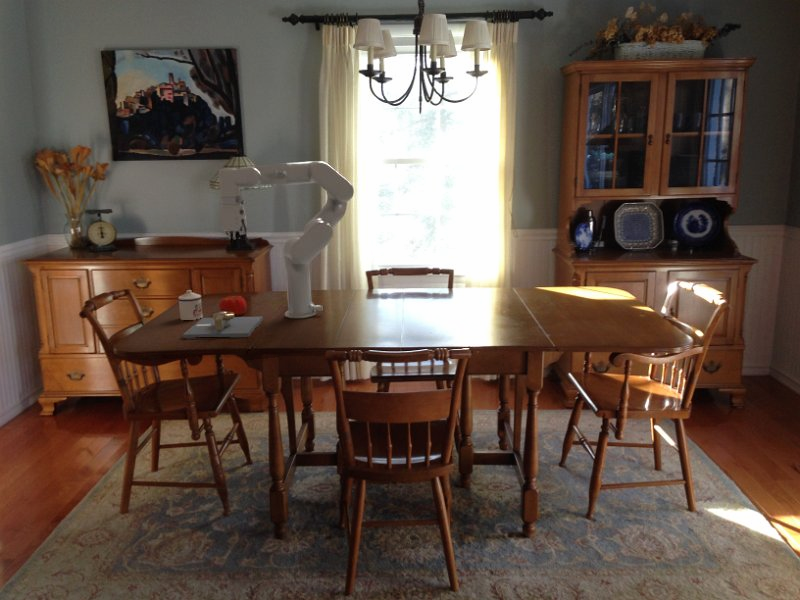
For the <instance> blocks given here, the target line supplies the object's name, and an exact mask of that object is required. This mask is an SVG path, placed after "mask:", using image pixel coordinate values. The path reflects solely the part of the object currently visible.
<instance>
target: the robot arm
mask: <svg viewBox="0 0 800 600" xmlns="http://www.w3.org/2000/svg"><path fill="white" fill-rule="evenodd" d="M218 183H219V192H220V193H219V194H220V203H221V205H220V209H219V210H220V213H219V218H220V219H219V222H220V223H219V224H220V228H221V230H222V233H223V234H225V235H226V236H227V237H228V240H229V244H230V250H233V251H235V250H239V249H240V248H241V247H240V239H241V236H243V235H246V231H247V230H248V220H247V214H246V210H245V206H244V204H242V202H243V198H242V193H241V187H245V188H254V187H256V186H261V185H262V186H263V185H278V186H295V185H306V184H317V185H319V186H320V187H321V188H322V189H324V190H325V191H326V194H327V198H326V199H327V200H326V203H325V205H324V206H323V207H322V208H321V209H320V211H318V212H317V214H316V215H314V216H313V217H312V219H310V220H309V221H307V223H306V224H305V226H304V228H303V234H302V235H301V236H300V237H296V236H295V237H291V238H289V239H287V240H286V241H285V243H284V245H283V247H282V249H283V250H282V251H283V252H282V253H283V260H284V267H285V276H286V277H285V278H286V279H285V281H286V292H287V293H286V297H287V308H288V310H287V311H285V312H284V316H285V317H286V318H289V319H307V318H310V317H311V318H312V317H314V316H315V315H316V314H317V311H318V312H319V311H320V312H321V311H323V310H324V309H323V305H321V304H318V305H317V304H316V305H315V304H314V301H313V302H312V289H311V288H312V287H311V272H310V271H311V270H310V269H311V268H310V262H312V260H314V259H315V258H316V257H317V256H318V255H319V254H320V253H321V252H322V250H324V249H325V248H326V247H327V246H328V245H329V243H330V242H331V241H332V239H333V237H334V228H335V227H336V226H337V225H338V223H339V222H341V220H342V219H343V217H344V215H345V214H346V210H347V206H348V201H351V199H352V198H353V196H354V193H355V190H354V186H353V185H352V183H351V182H350V181H349V180H348V179H346V178H345V177H344V176H343V175H341V174H340V172H338V171H337V170H336V169H334V168H333V167H332V166H331V165H329V164H328V163H326V162H325V161H322V160H321V161H320V160H314V161H313V160H311V161H299V162H298V161H295V162H282V163H281V162H280V163H275V164H267V165H266V164H265V165H248V166H244V167H241V168H234V167H233V168H232V167H230V168H229V167H225V168H221V169H219V171H218Z"/></svg>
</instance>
